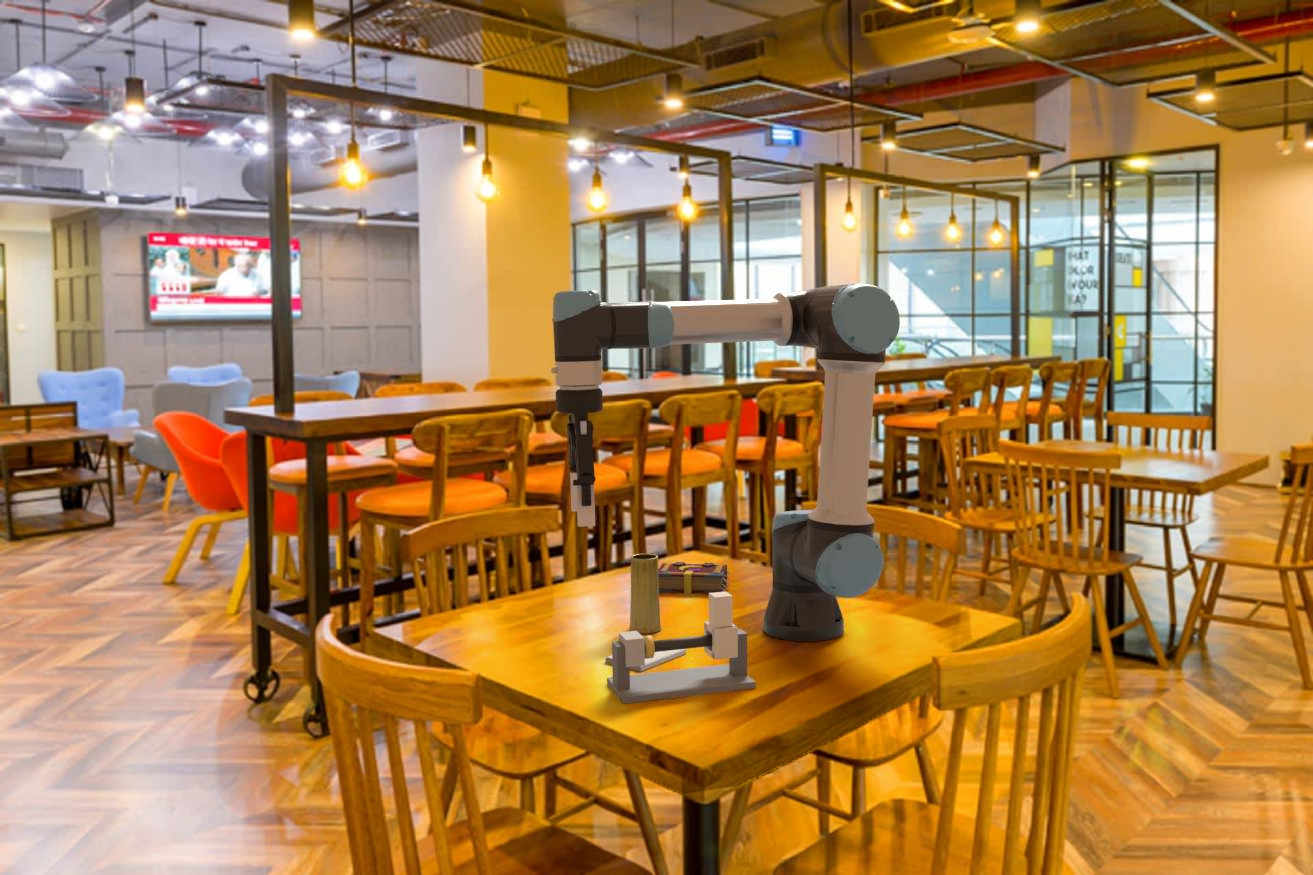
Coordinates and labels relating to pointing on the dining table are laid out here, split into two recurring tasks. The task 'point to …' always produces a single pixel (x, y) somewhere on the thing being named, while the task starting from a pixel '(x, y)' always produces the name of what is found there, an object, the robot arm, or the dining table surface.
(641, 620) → the vase
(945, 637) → the dining table surface
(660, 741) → the dining table surface
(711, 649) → the stacked pale cubes
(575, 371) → the robot arm
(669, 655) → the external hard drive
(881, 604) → the dining table surface
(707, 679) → the cord rail
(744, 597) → the dining table surface
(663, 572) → the decorative book
